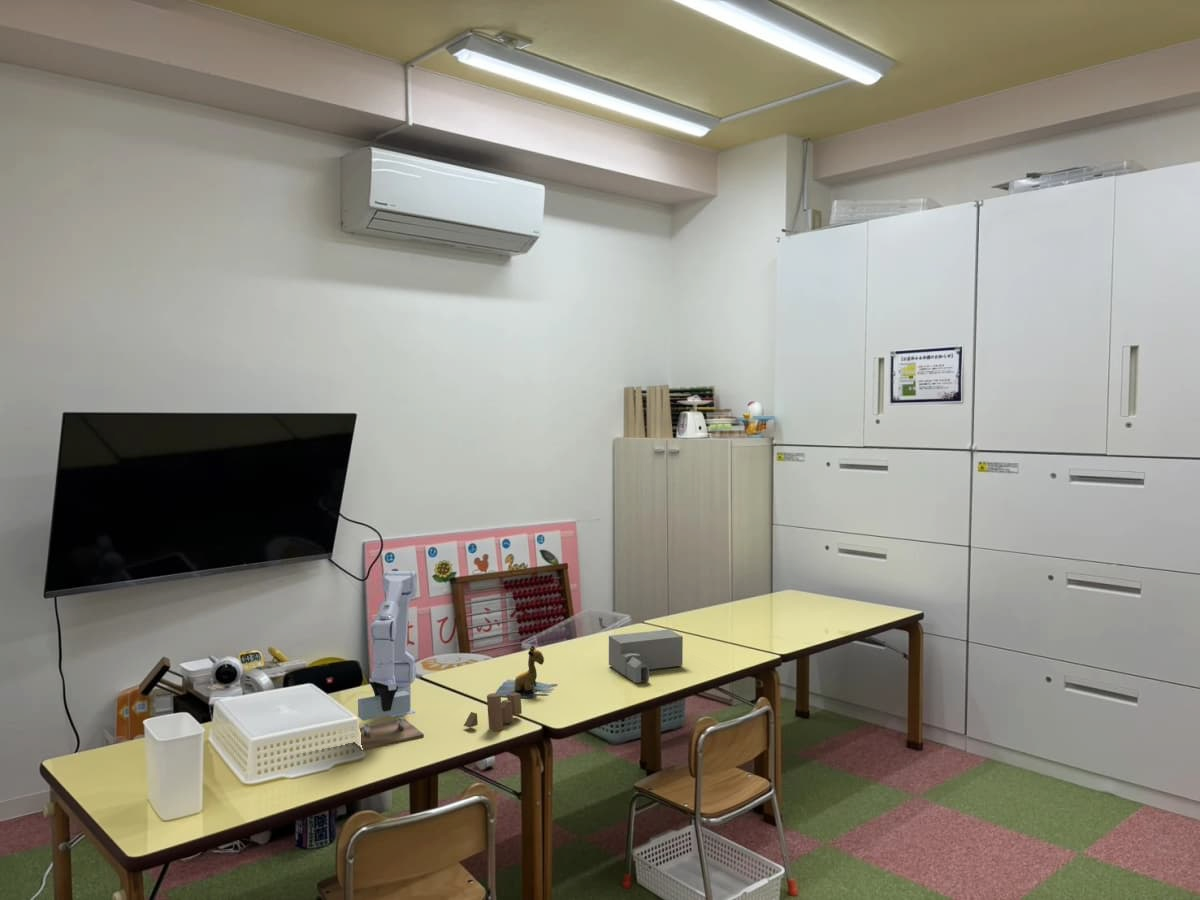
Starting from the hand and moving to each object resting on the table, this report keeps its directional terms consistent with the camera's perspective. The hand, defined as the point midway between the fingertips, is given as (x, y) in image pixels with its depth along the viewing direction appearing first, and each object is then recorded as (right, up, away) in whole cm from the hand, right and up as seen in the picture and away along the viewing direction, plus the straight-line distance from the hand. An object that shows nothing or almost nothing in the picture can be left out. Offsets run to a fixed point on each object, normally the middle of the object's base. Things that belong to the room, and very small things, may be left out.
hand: (384, 708), depth 251 cm
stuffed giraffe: (+37, -7, +42) cm, 56 cm away
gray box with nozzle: (+81, -6, +67) cm, 105 cm away
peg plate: (0, -8, 0) cm, 8 cm away
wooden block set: (+32, -8, +9) cm, 34 cm away
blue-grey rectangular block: (0, -2, 0) cm, 2 cm away
